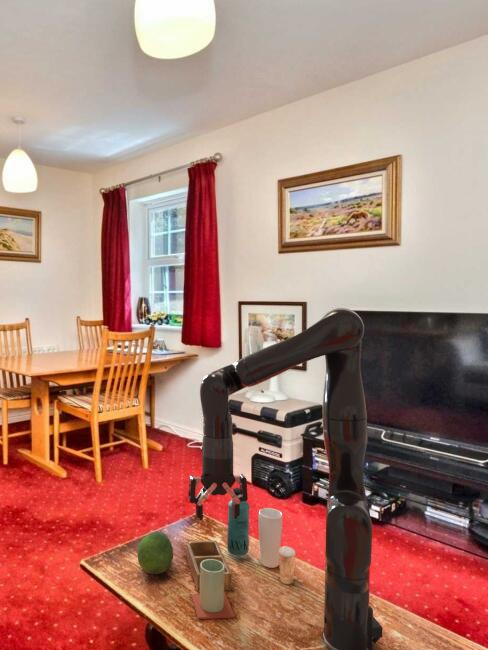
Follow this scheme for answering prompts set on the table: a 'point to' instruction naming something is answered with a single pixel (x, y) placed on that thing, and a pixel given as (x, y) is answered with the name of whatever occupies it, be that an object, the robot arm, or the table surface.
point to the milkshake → (287, 564)
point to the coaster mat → (203, 614)
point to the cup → (212, 585)
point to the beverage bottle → (238, 529)
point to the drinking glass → (270, 536)
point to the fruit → (155, 553)
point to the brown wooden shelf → (203, 551)
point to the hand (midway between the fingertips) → (217, 518)
